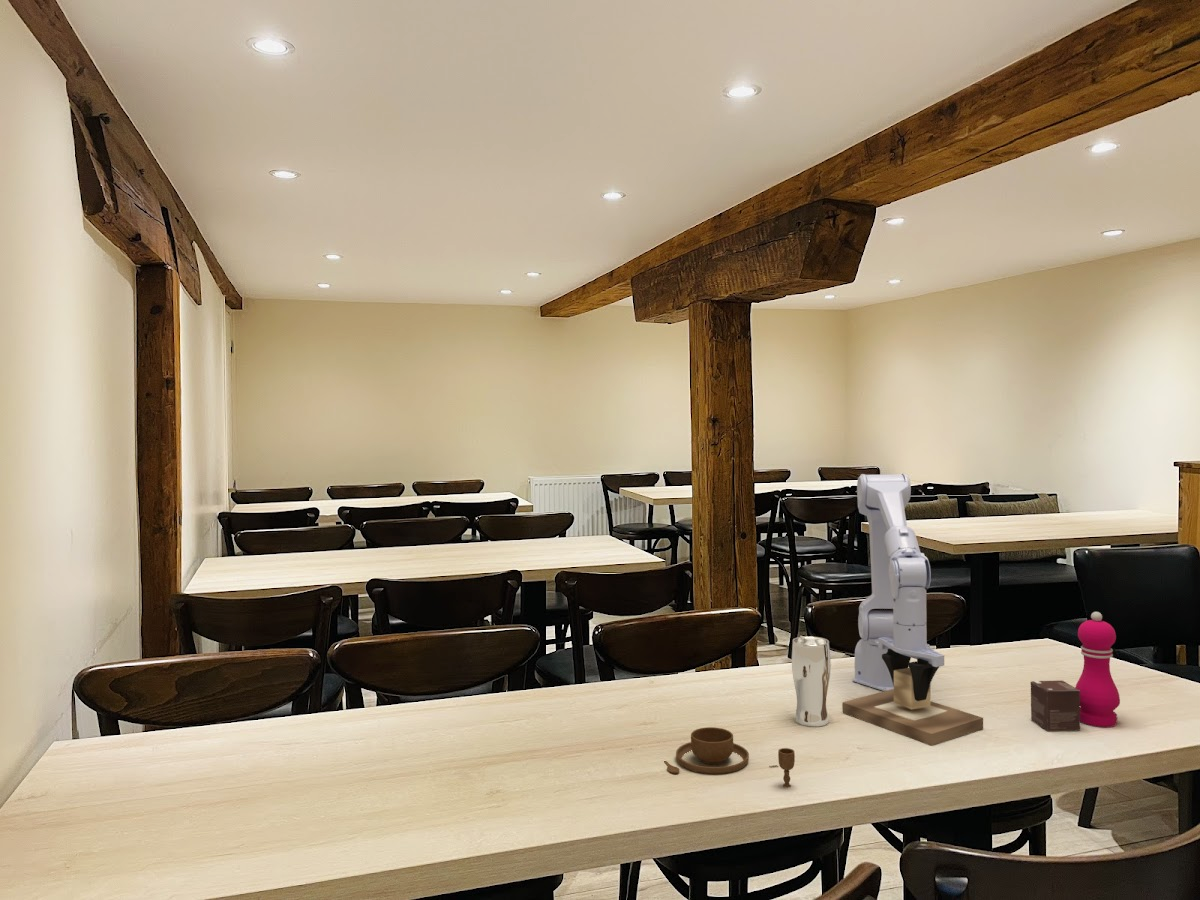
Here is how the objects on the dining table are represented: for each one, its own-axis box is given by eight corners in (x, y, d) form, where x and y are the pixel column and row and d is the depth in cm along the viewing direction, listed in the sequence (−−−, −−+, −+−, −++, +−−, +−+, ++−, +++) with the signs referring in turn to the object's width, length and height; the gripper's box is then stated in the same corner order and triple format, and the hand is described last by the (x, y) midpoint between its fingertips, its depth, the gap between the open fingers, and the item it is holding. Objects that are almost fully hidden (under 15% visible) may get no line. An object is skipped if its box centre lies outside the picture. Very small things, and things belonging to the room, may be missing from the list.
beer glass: (827, 714, 162) (826, 636, 162) (834, 728, 155) (833, 645, 155) (790, 714, 163) (789, 635, 163) (794, 727, 156) (793, 645, 156)
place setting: (747, 744, 150) (746, 710, 150) (803, 791, 131) (802, 752, 131) (651, 756, 146) (651, 721, 145) (694, 806, 126) (694, 767, 126)
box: (1081, 731, 152) (1081, 690, 151) (1046, 732, 152) (1046, 690, 151) (1063, 719, 158) (1063, 679, 157) (1029, 720, 158) (1029, 680, 157)
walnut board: (842, 712, 163) (842, 701, 163) (892, 699, 171) (892, 688, 171) (931, 745, 146) (931, 732, 146) (983, 728, 154) (983, 716, 153)
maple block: (893, 702, 160) (893, 670, 160) (912, 699, 162) (912, 667, 161) (911, 709, 156) (911, 676, 155) (930, 706, 157) (930, 673, 157)
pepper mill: (1126, 729, 152) (1126, 616, 151) (1081, 727, 153) (1081, 615, 153) (1111, 715, 159) (1110, 608, 158) (1068, 713, 160) (1068, 607, 160)
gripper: (957, 628, 153) (957, 704, 153) (898, 612, 166) (898, 682, 167) (926, 633, 150) (927, 710, 150) (869, 616, 163) (870, 687, 164)
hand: (910, 695), depth 158 cm, fingers closed on maple block, 4 cm apart
